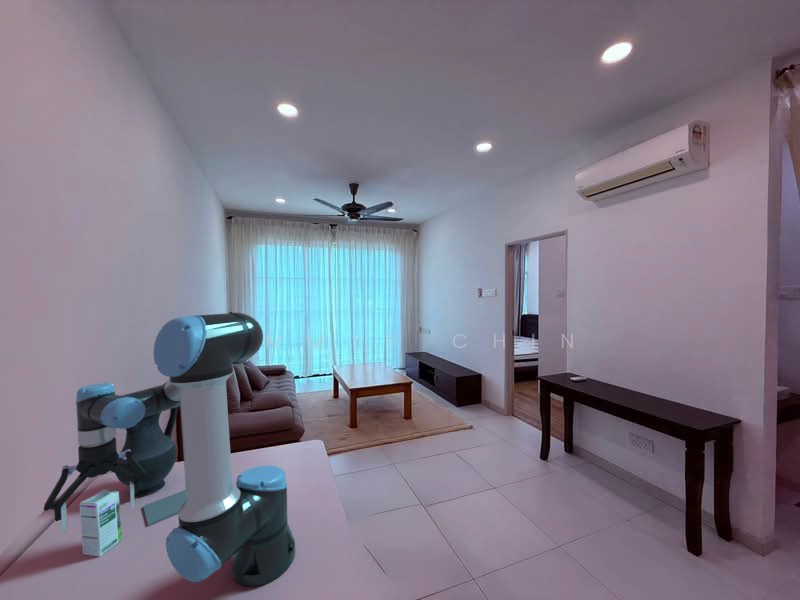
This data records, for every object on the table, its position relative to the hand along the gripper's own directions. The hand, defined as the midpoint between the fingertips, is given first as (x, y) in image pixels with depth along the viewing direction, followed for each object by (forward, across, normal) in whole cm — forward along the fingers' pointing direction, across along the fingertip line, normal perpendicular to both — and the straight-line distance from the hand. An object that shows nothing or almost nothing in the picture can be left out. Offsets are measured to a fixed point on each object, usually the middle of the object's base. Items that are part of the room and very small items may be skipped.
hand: (100, 517), depth 87 cm
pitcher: (+9, -14, -26) cm, 31 cm away
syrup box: (+9, 0, 0) cm, 9 cm away
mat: (+8, -16, -7) cm, 19 cm away
